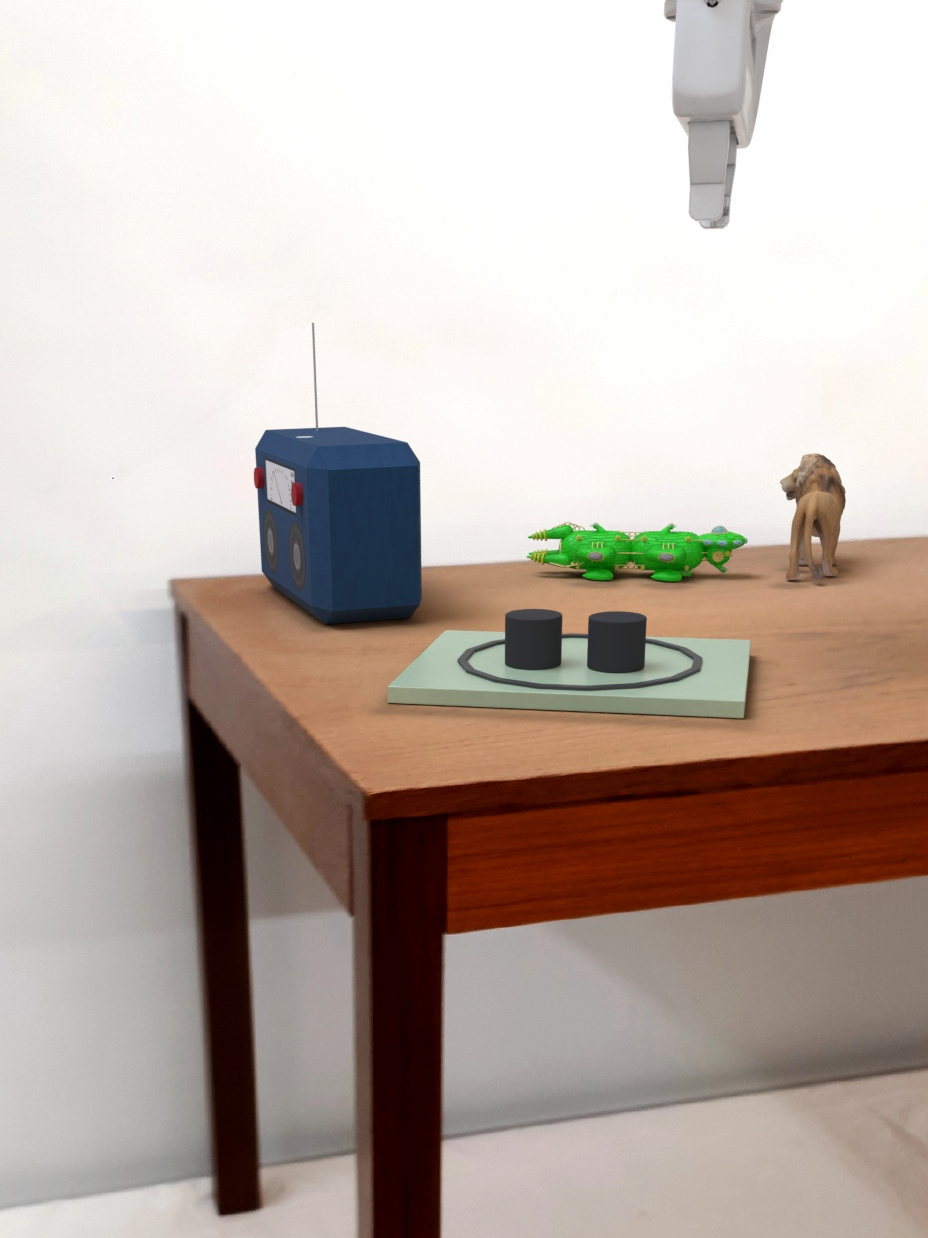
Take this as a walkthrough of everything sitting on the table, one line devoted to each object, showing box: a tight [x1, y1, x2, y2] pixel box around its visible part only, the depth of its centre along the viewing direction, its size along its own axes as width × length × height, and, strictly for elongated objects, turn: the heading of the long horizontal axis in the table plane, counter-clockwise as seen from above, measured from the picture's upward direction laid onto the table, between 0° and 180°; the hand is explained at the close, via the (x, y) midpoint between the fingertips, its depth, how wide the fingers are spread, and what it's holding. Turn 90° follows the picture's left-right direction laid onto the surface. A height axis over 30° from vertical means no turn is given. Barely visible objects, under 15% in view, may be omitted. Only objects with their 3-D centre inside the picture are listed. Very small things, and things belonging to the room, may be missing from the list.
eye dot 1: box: [504, 608, 563, 670], centre depth 88 cm, size 3×3×3 cm
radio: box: [253, 322, 423, 625], centre depth 110 cm, size 21×9×20 cm, turn 18°
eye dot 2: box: [587, 610, 648, 673], centre depth 87 cm, size 3×3×3 cm
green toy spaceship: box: [526, 521, 749, 582], centre depth 122 cm, size 7×18×4 cm, turn 80°
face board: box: [387, 629, 752, 719], centre depth 89 cm, size 20×16×1 cm
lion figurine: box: [779, 452, 847, 580], centre depth 122 cm, size 15×5×9 cm, turn 171°
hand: (709, 225), depth 85 cm, fingers open, 8 cm apart
